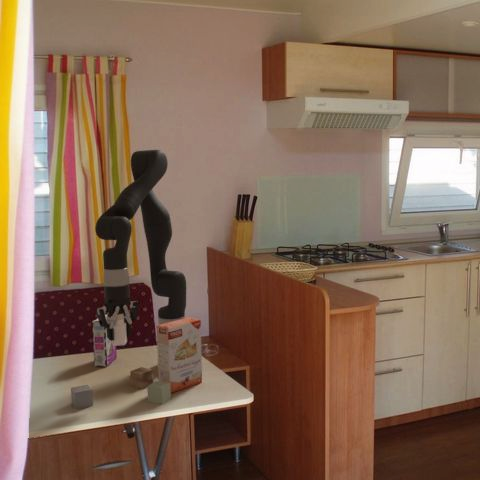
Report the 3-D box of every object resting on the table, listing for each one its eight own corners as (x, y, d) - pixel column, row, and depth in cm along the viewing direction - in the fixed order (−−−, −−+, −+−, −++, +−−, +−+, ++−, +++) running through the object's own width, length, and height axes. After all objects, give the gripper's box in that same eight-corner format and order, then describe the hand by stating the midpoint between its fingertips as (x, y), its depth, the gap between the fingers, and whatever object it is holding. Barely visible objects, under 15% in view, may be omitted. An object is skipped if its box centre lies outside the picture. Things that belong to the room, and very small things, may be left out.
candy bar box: (107, 367, 232) (105, 321, 230) (93, 367, 233) (91, 321, 231) (117, 357, 243) (115, 314, 241) (104, 357, 244) (102, 313, 242)
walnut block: (142, 381, 216) (141, 367, 216) (153, 384, 213) (152, 369, 213) (131, 386, 212) (130, 371, 212) (142, 389, 209) (141, 373, 209)
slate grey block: (88, 400, 201) (87, 384, 200) (92, 405, 196) (91, 389, 196) (71, 403, 198) (70, 387, 198) (75, 409, 194) (74, 392, 193)
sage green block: (156, 396, 202) (155, 380, 202) (170, 398, 200) (170, 382, 200) (148, 402, 198) (147, 386, 197) (162, 404, 196) (162, 388, 195)
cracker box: (170, 394, 204) (168, 327, 201) (158, 390, 208) (155, 324, 205) (203, 382, 214) (201, 318, 211) (190, 378, 218) (188, 316, 215)
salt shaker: (112, 346, 199) (110, 315, 198) (114, 342, 203) (112, 312, 202) (125, 345, 199) (123, 314, 198) (127, 342, 203) (126, 311, 202)
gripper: (129, 278, 206) (132, 331, 208) (88, 285, 197) (92, 340, 199) (143, 280, 201) (146, 335, 203) (102, 288, 191) (105, 345, 193)
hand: (119, 337), depth 201 cm, fingers closed on salt shaker, 5 cm apart
